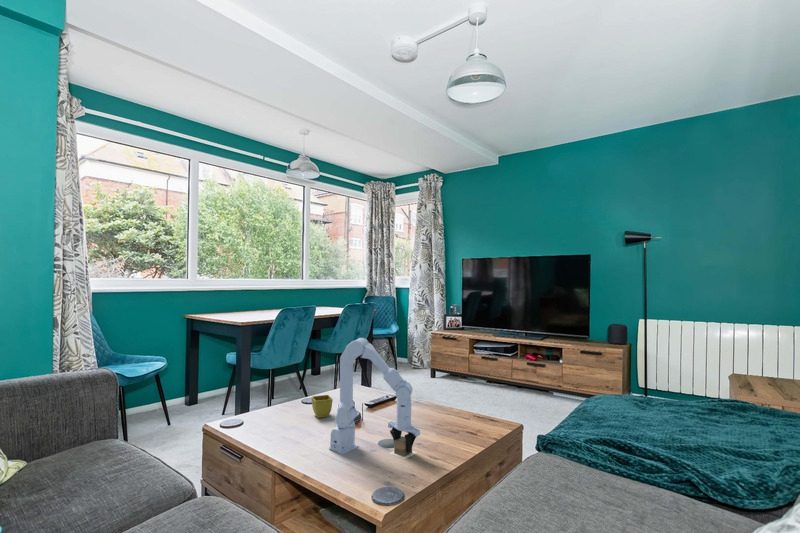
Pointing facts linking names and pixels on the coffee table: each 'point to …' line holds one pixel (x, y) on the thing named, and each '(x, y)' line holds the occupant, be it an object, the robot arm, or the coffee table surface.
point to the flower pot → (322, 405)
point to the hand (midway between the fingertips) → (403, 449)
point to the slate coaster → (386, 443)
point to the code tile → (403, 456)
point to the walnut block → (400, 447)
